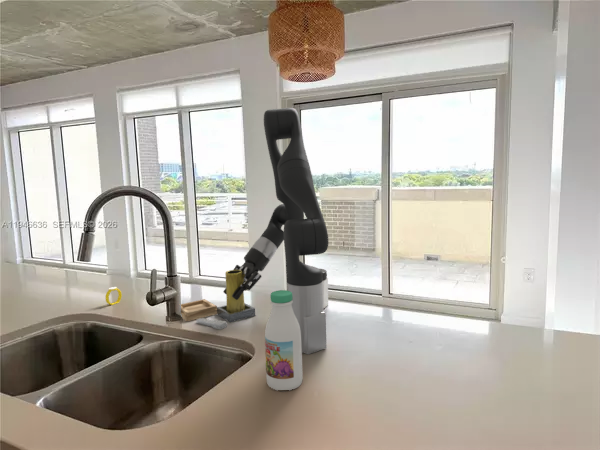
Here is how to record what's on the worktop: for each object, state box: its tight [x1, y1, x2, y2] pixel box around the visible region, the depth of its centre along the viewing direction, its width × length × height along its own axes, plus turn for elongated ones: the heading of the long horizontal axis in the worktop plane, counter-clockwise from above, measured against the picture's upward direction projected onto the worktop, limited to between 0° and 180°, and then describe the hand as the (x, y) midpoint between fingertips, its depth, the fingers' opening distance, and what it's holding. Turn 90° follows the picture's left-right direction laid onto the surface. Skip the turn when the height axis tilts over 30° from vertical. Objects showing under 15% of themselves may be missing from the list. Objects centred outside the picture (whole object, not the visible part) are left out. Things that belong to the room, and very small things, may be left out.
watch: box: [104, 286, 123, 306], centre depth 147 cm, size 6×3×6 cm, turn 155°
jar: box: [319, 268, 329, 310], centre depth 138 cm, size 9×8×12 cm
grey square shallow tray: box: [216, 303, 256, 323], centre depth 131 cm, size 9×9×2 cm
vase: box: [224, 269, 246, 313], centre depth 131 cm, size 6×6×14 cm
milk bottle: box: [264, 289, 303, 391], centre depth 87 cm, size 8×8×20 cm
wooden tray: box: [180, 298, 218, 322], centre depth 134 cm, size 11×11×2 cm
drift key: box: [195, 317, 228, 330], centre depth 123 cm, size 10×3×1 cm, turn 56°
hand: (230, 295), depth 130 cm, fingers closed on vase, 5 cm apart
